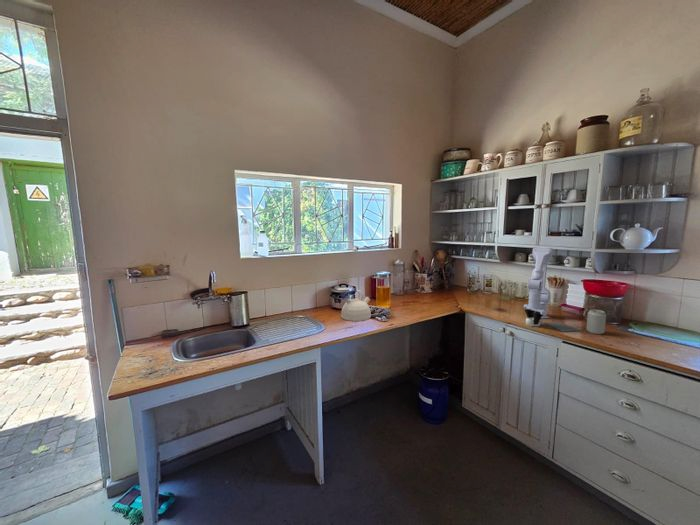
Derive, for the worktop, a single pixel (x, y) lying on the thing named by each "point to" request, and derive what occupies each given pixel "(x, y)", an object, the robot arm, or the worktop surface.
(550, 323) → the mat
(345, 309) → the kettle
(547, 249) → the robot arm
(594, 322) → the can
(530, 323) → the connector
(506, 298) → the worktop surface
